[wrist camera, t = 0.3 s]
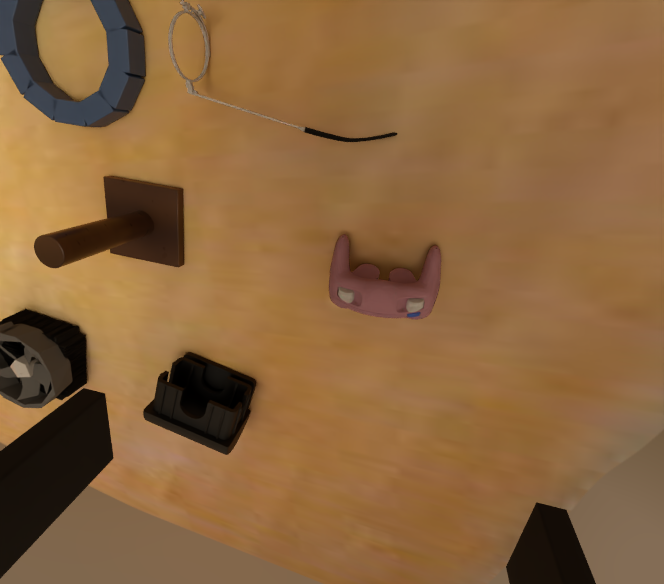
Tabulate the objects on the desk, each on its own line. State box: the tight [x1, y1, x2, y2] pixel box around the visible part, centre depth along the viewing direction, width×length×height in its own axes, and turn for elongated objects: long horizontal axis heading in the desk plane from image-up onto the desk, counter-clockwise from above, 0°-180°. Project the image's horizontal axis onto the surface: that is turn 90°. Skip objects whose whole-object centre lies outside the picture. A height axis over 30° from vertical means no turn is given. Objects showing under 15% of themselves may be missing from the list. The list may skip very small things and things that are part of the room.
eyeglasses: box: [169, 0, 397, 142], centre depth 29 cm, size 16×19×5 cm
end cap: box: [143, 352, 256, 455], centre depth 44 cm, size 10×7×7 cm
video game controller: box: [329, 234, 441, 319], centre depth 35 cm, size 10×5×7 cm, turn 86°
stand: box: [34, 176, 184, 268], centre depth 35 cm, size 8×8×12 cm
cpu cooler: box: [0, 309, 87, 408], centre depth 47 cm, size 10×6×10 cm
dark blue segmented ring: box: [0, 0, 146, 127], centre depth 34 cm, size 13×13×2 cm
